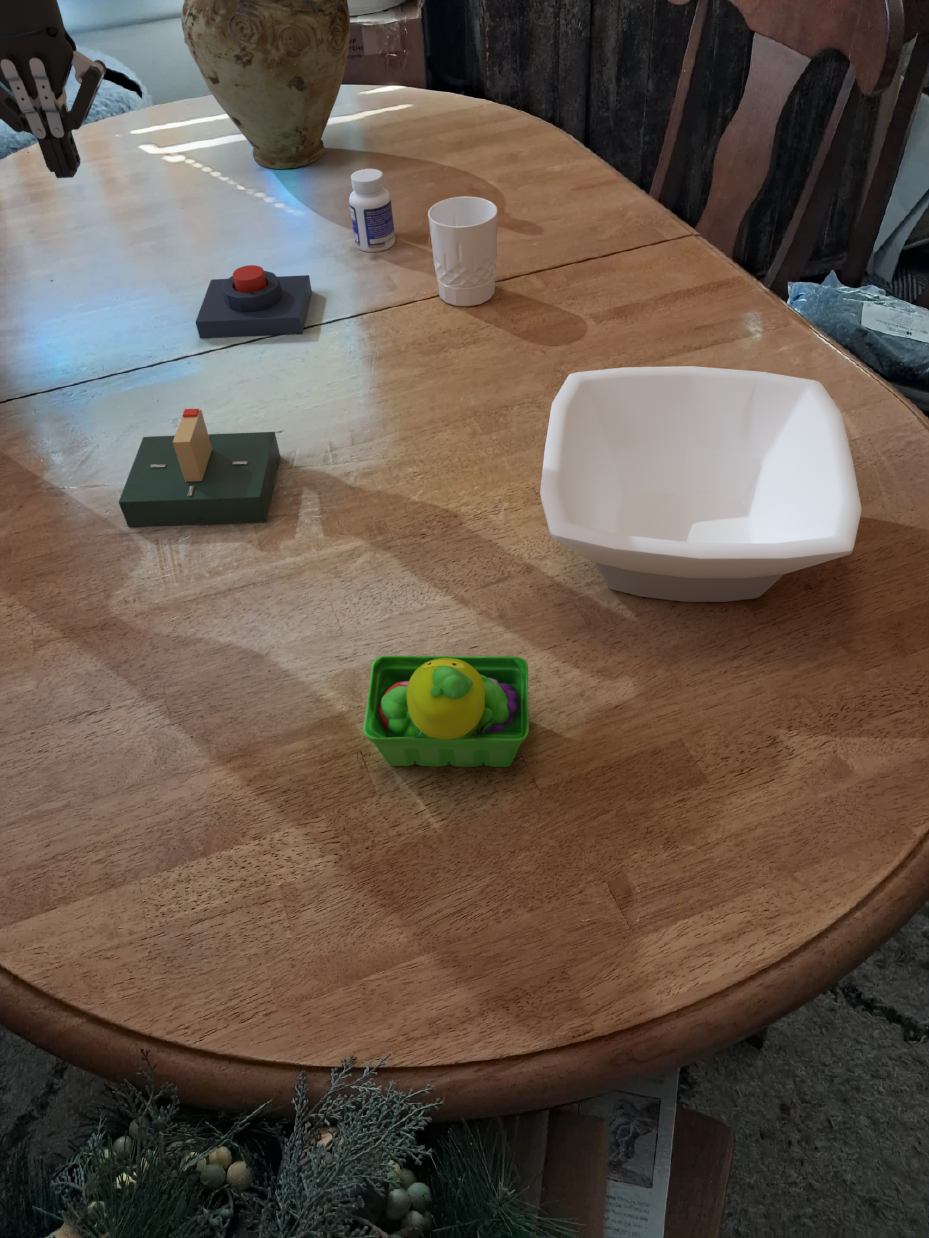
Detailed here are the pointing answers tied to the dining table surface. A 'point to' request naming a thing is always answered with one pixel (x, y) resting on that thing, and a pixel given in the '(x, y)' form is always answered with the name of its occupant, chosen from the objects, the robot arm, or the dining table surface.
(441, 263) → the white cup
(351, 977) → the dining table surface
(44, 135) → the robot arm
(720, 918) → the dining table surface
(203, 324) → the button box
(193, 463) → the knob
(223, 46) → the vase
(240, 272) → the button
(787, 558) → the bowl
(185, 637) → the dining table surface
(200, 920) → the dining table surface
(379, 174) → the pill bottle
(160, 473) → the panel
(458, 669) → the fruit basket
